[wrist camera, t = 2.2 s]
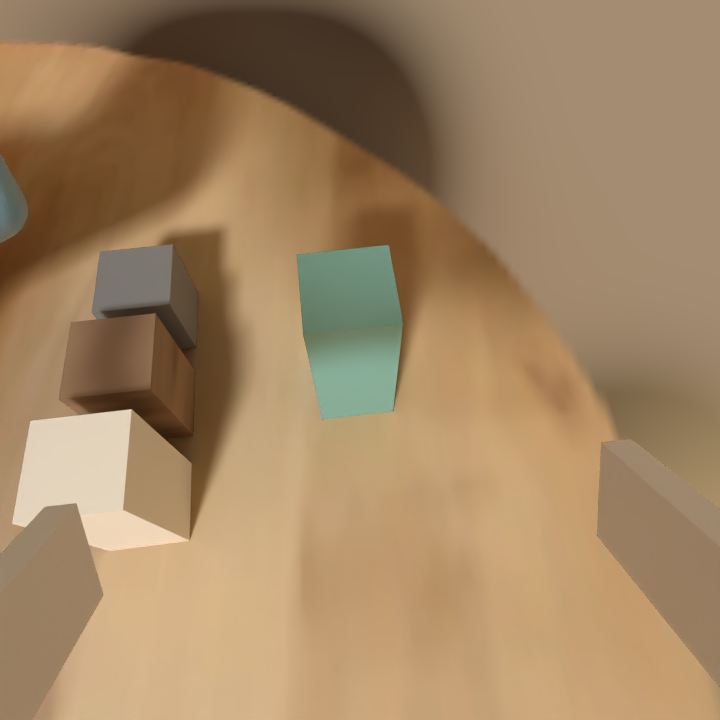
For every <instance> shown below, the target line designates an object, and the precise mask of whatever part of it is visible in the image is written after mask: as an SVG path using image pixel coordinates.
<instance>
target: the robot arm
mask: <svg viewBox="0 0 720 720" xmlns="http://www.w3.org/2000/svg"><path fill="white" fill-rule="evenodd" d="M27 217H28V204H27V201H26V198H25V196H24V194H23V192H22V190H21V189H20V187H19V185H18V183H17V181H16V180H15V178H14V176H13V174H12V173H11V171H10V169H9V167H8V166H7V164H6V162H5V160H4V159H3V157H2V155H1V153H0V243H2V242H4V241H5V240H7V239H9V238H11V237H13V236H15V235H16V234H17V233H18V232H19V231H21V230H22V228H23V227H24V225H25V223H26V220H27ZM597 536H598V537H599V539H600V540H601V541H602V542H603V544H604V545H605V546H606V547H607V549H608V550H609V551H610V552H611V554H612V555H613V556H614V557H615V558H616V560H617V561H618V562H619V563H620V565H621V566H622V567H623V568H624V570H625V571H626V572H627V573H628V575H629V576H630V577H631V578H632V579H633V581H634V582H635V583H636V584H637V586H638V587H639V588H640V589H641V591H642V592H643V593H644V594H645V596H646V597H647V598H648V599H649V601H650V602H651V603H652V604H653V605H654V607H655V608H656V609H657V610H658V612H659V613H660V614H661V615H662V617H663V618H664V619H665V620H666V622H667V623H668V624H669V625H670V626H671V628H672V629H673V630H674V631H675V633H676V634H677V635H678V636H679V638H680V639H681V640H682V641H683V643H684V644H685V645H686V646H687V647H688V649H689V650H690V651H691V652H692V654H693V655H694V656H695V657H696V659H697V660H698V661H699V662H700V664H701V665H702V666H703V667H704V669H705V670H706V671H707V672H708V673H709V675H710V676H711V677H712V678H713V680H714V681H715V682H716V683H717V685H718V686H719V687H720V508H718V507H717V506H716V505H715V504H713V503H712V502H711V501H710V500H708V499H707V498H706V497H704V496H703V495H702V494H701V493H699V492H698V491H697V490H696V489H694V488H693V487H692V486H690V485H689V484H688V483H687V482H685V481H684V480H683V479H681V478H680V477H679V476H678V475H676V474H675V473H674V472H672V471H671V470H670V469H669V468H667V467H666V466H665V465H663V464H662V463H661V462H660V461H658V460H657V459H656V458H654V457H653V456H652V455H651V454H649V453H648V452H647V451H646V450H644V449H643V448H641V447H640V446H639V445H638V444H636V443H635V442H634V441H633V440H631V439H627V440H619V441H610V442H601V457H600V479H599V500H598V521H597ZM102 597H103V591H102V588H101V584H100V581H99V578H98V574H97V571H96V568H95V564H94V561H93V557H92V554H91V551H90V547H89V544H88V540H87V537H86V534H85V530H84V527H83V524H82V520H81V517H80V513H79V510H78V507H77V503H72V504H64V505H55V506H46V507H44V508H43V509H42V510H41V511H40V512H39V513H38V515H37V516H36V517H35V518H34V519H33V520H32V521H31V522H30V523H29V524H28V525H27V526H26V527H25V529H24V530H23V531H22V532H21V533H20V534H19V535H18V536H17V537H16V538H15V539H14V540H13V541H12V542H11V544H10V545H9V546H8V547H7V548H6V549H5V550H4V551H3V552H2V553H1V554H0V720H32V719H33V717H34V716H35V714H36V712H37V710H38V709H39V707H40V705H41V703H42V702H43V700H44V698H45V696H46V695H47V693H48V691H49V689H50V688H51V686H52V684H53V682H54V681H55V679H56V677H57V675H58V674H59V672H60V670H61V668H62V667H63V665H64V663H65V661H66V660H67V658H68V656H69V654H70V653H71V651H72V649H73V647H74V646H75V644H76V642H77V640H78V639H79V637H80V635H81V633H82V632H83V630H84V628H85V626H86V625H87V623H88V621H89V620H90V618H91V616H92V614H93V613H94V611H95V609H96V607H97V606H98V604H99V602H100V600H101V599H102Z"/></svg>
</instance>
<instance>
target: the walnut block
mask: <svg viewBox="0 0 720 720" xmlns="http://www.w3.org/2000/svg"><path fill="white" fill-rule="evenodd" d="M194 396H195V370H194V369H193V367H192V366H191V364H190V363H189V361H188V360H187V359H186V357H185V356H184V354H183V353H182V351H181V350H180V348H179V347H178V345H177V344H176V342H175V341H174V340H173V338H172V337H171V335H170V334H169V332H168V331H167V329H166V328H165V326H164V325H163V323H162V322H161V321H160V319H159V318H158V316H157V315H156V313H154V314H145V315H135V316H126V317H117V318H108V319H98V320H89V321H80V322H71V325H70V331H69V338H68V344H67V351H66V357H65V363H64V370H63V376H62V382H61V389H60V395H59V400H60V401H62V402H63V403H64V404H66V405H67V406H69V407H70V408H71V409H73V410H74V411H75V412H77V413H78V414H80V415H86V414H95V413H104V412H112V411H121V410H130V409H132V410H133V411H134V412H135V413H136V414H137V415H139V416H140V417H141V418H142V419H143V420H144V421H145V422H146V423H147V424H148V425H150V426H151V427H152V428H153V429H154V430H155V431H156V432H157V433H158V434H160V435H161V436H162V437H163V438H164V439H168V438H177V437H185V436H193V432H194Z"/></svg>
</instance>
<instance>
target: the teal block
mask: <svg viewBox="0 0 720 720" xmlns="http://www.w3.org/2000/svg"><path fill="white" fill-rule="evenodd" d="M297 264H298V276H299V289H300V301H301V313H302V326H303V336H304V340H305V345H306V349H307V353H308V358H309V362H310V367H311V371H312V376H313V380H314V384H315V389H316V393H317V398H318V402H319V407H320V411H321V415H322V420H324V419H332V418H341V417H349V416H357V415H366V414H374V413H383V412H391V411H393V407H394V398H395V390H396V381H397V373H398V364H399V355H400V347H401V338H402V330H403V320H402V314H401V309H400V303H399V298H398V292H397V287H396V282H395V276H394V271H393V265H392V260H391V255H390V249H389V245H383V246H373V247H364V248H354V249H345V250H335V251H326V252H316V253H307V254H297Z"/></svg>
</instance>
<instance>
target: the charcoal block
mask: <svg viewBox="0 0 720 720" xmlns="http://www.w3.org/2000/svg"><path fill="white" fill-rule="evenodd" d="M197 310H198V292H197V290H196V288H195V286H194V284H193V282H192V280H191V278H190V276H189V274H188V273H187V271H186V269H185V267H184V265H183V263H182V261H181V259H180V257H179V255H178V253H177V251H176V249H175V247H174V245H173V244H170V245H160V246H151V247H141V248H131V249H121V250H111V251H102V252H100V256H99V263H98V271H97V278H96V285H95V293H94V300H93V307H92V313H93V314H94V316H95V317H96V318H97V319H108V318H117V317H126V316H135V315H145V314H154V313H156V315H157V316H158V318H159V319H160V321H161V322H162V323H163V325H164V326H165V328H166V329H167V331H168V332H169V334H170V335H171V337H172V338H173V340H174V341H175V342H176V344H177V345H178V347H179V348H180V349H187V348H196V346H197Z"/></svg>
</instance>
